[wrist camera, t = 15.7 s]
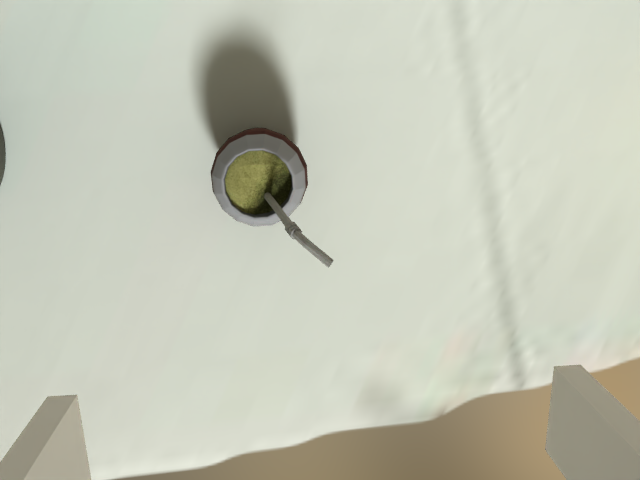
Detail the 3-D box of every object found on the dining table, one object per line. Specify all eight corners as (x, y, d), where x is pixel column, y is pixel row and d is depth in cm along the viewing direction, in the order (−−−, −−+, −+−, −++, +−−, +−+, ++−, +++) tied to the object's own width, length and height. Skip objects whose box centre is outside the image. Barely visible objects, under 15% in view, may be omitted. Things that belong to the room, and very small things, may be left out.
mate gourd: (214, 126, 45) (184, 148, 30) (312, 120, 45) (328, 140, 31) (223, 216, 47) (199, 277, 33) (316, 210, 47) (334, 267, 33)
